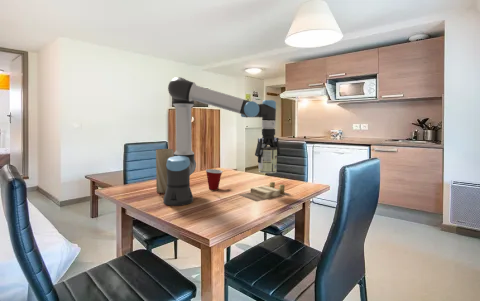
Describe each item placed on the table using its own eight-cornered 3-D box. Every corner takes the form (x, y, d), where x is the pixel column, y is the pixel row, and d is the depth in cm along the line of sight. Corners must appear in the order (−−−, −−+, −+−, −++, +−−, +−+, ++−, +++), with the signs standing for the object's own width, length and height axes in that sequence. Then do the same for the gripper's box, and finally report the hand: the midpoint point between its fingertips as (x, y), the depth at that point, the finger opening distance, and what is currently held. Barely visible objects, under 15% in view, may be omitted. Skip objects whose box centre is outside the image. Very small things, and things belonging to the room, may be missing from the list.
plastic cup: (221, 191, 166) (222, 171, 164) (204, 190, 166) (204, 171, 165) (223, 187, 176) (223, 168, 175) (206, 186, 177) (206, 168, 175)
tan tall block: (163, 193, 158) (163, 150, 155) (153, 190, 164) (152, 149, 161) (176, 190, 166) (176, 149, 163) (166, 187, 172) (165, 148, 169)
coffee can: (258, 169, 159) (259, 146, 158) (276, 170, 158) (277, 146, 157) (258, 173, 149) (258, 147, 148) (276, 173, 148) (277, 148, 147)
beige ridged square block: (264, 198, 146) (264, 192, 146) (250, 193, 156) (250, 188, 155) (280, 195, 153) (280, 189, 153) (265, 190, 163) (266, 185, 163)
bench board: (256, 204, 140) (256, 192, 139) (238, 197, 153) (238, 186, 152) (290, 196, 156) (291, 185, 155) (271, 190, 168) (271, 180, 168)
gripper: (257, 128, 141) (256, 170, 144) (287, 128, 155) (286, 166, 157) (248, 128, 147) (247, 168, 150) (278, 128, 161) (277, 165, 163)
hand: (267, 167), depth 153 cm, fingers closed on coffee can, 10 cm apart
